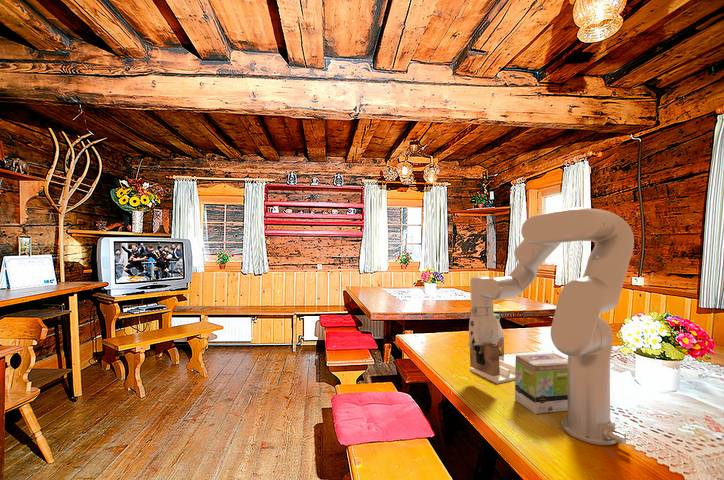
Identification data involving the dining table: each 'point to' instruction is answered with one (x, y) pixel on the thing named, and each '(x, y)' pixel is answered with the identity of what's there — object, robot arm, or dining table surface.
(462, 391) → the dining table surface
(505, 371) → the rack
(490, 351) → the walnut board
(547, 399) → the tea box
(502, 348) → the milk bottle
